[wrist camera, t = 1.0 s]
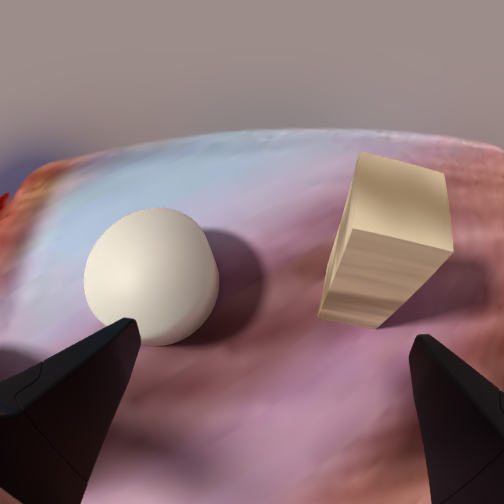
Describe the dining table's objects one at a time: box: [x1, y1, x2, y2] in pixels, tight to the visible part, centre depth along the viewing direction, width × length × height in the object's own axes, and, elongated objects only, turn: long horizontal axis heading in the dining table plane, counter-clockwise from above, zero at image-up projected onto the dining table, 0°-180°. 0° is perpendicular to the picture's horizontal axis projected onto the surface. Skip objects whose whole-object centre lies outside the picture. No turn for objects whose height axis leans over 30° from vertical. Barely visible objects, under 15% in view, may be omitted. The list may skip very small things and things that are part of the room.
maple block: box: [317, 152, 453, 329], centre depth 19 cm, size 5×5×13 cm
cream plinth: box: [84, 208, 220, 346], centre depth 25 cm, size 11×11×4 cm
